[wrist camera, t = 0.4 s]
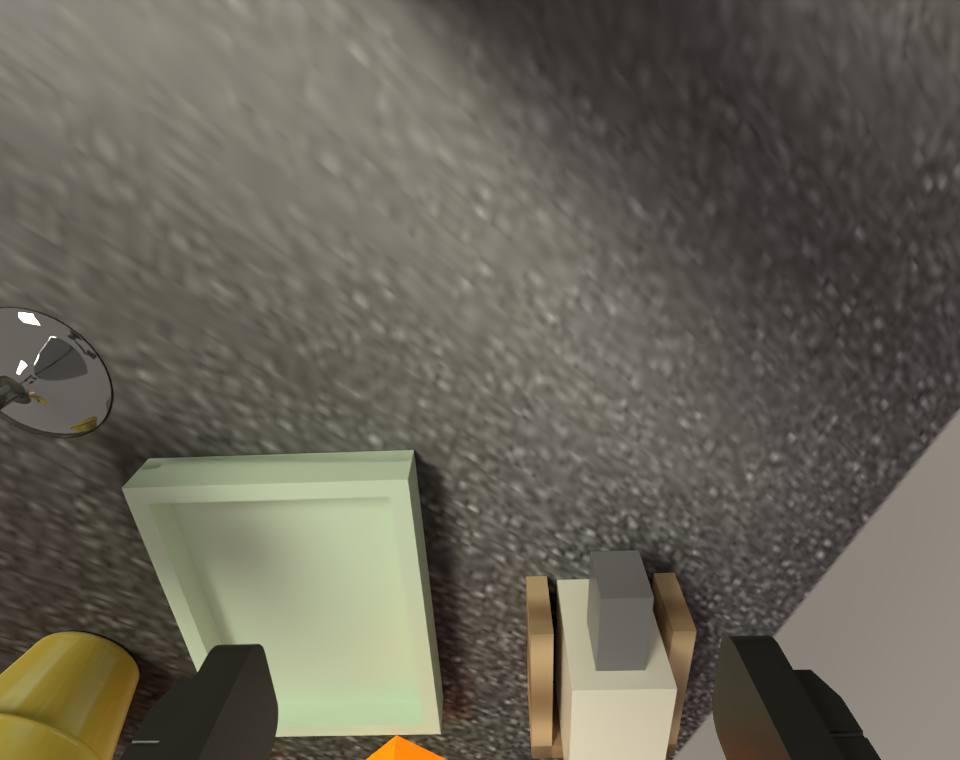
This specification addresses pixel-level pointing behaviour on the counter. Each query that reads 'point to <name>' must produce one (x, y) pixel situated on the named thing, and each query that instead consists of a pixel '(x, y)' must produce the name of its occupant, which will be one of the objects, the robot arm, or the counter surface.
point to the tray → (303, 579)
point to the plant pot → (66, 699)
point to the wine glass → (49, 376)
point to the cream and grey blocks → (612, 664)
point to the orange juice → (403, 751)
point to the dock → (540, 642)
